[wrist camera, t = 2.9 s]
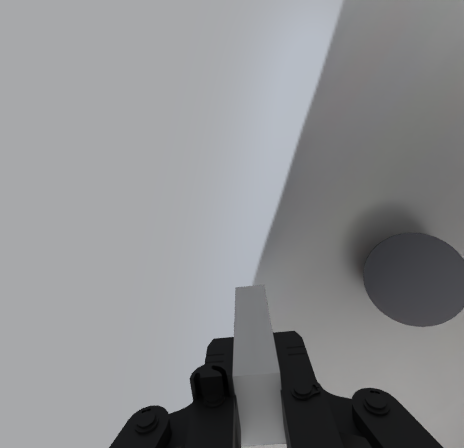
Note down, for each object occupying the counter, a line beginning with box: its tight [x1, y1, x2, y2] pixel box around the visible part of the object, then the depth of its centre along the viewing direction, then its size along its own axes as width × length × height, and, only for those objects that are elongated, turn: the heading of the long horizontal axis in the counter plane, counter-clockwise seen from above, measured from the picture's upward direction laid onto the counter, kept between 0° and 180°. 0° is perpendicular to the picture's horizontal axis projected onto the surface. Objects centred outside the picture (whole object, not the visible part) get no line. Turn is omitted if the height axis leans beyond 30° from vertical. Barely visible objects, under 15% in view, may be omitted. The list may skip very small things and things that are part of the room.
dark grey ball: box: [363, 233, 464, 327], centre depth 18 cm, size 6×6×6 cm
